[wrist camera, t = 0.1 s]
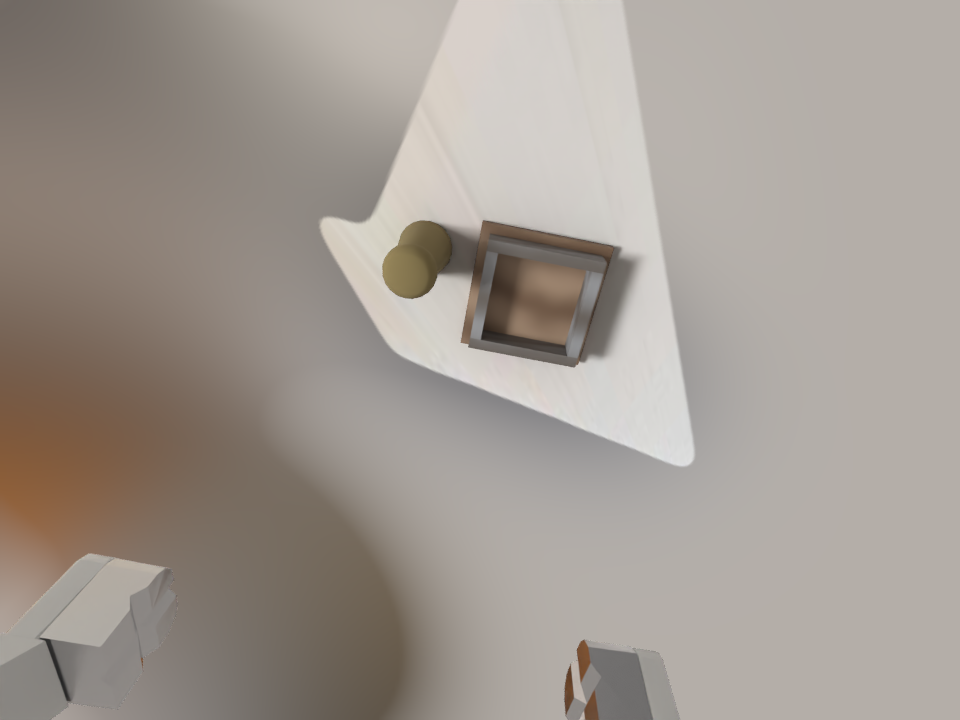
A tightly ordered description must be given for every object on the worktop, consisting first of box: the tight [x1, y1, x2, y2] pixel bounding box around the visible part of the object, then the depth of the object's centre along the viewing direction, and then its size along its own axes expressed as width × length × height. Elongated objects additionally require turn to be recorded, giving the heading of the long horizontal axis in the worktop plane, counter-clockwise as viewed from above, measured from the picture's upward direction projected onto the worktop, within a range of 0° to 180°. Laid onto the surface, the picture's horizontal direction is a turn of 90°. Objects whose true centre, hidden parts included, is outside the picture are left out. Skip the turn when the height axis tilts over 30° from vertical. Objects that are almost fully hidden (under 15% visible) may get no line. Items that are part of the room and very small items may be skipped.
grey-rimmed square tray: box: [461, 221, 614, 367], centre depth 55 cm, size 14×14×4 cm
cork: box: [382, 221, 452, 299], centre depth 50 cm, size 6×6×11 cm
